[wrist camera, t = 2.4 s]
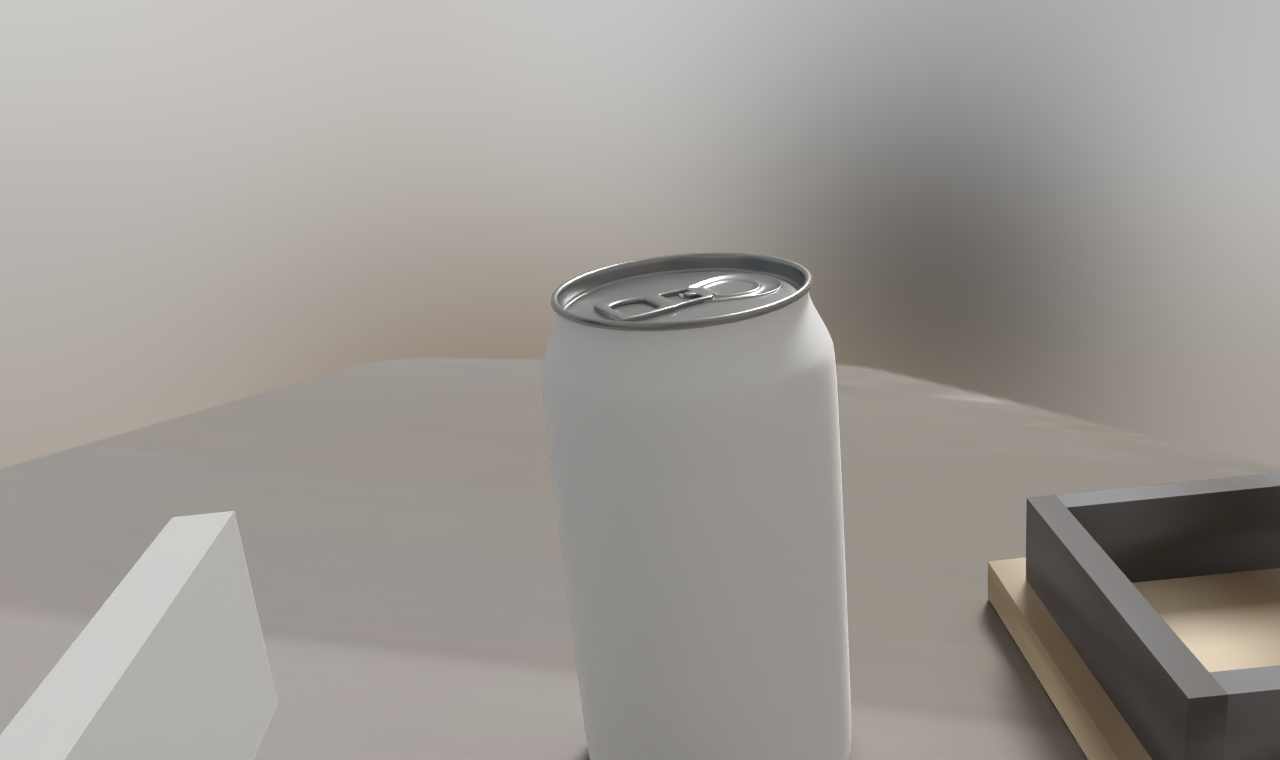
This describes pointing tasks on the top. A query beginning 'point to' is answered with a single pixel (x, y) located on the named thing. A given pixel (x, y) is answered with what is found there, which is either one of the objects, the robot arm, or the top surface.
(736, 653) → the can
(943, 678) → the top surface
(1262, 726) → the seat block
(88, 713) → the robot arm
